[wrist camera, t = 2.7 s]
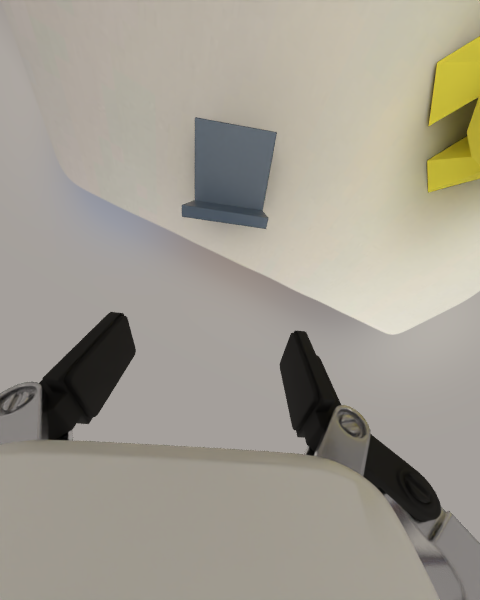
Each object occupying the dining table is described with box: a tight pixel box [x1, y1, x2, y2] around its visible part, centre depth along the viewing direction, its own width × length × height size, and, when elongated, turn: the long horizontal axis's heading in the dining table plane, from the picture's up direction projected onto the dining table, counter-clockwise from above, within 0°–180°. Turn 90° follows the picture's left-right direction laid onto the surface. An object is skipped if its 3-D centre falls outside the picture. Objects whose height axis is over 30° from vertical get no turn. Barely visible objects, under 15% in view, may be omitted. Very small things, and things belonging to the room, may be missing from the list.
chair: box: [182, 117, 277, 229], centre depth 20 cm, size 8×8×12 cm
